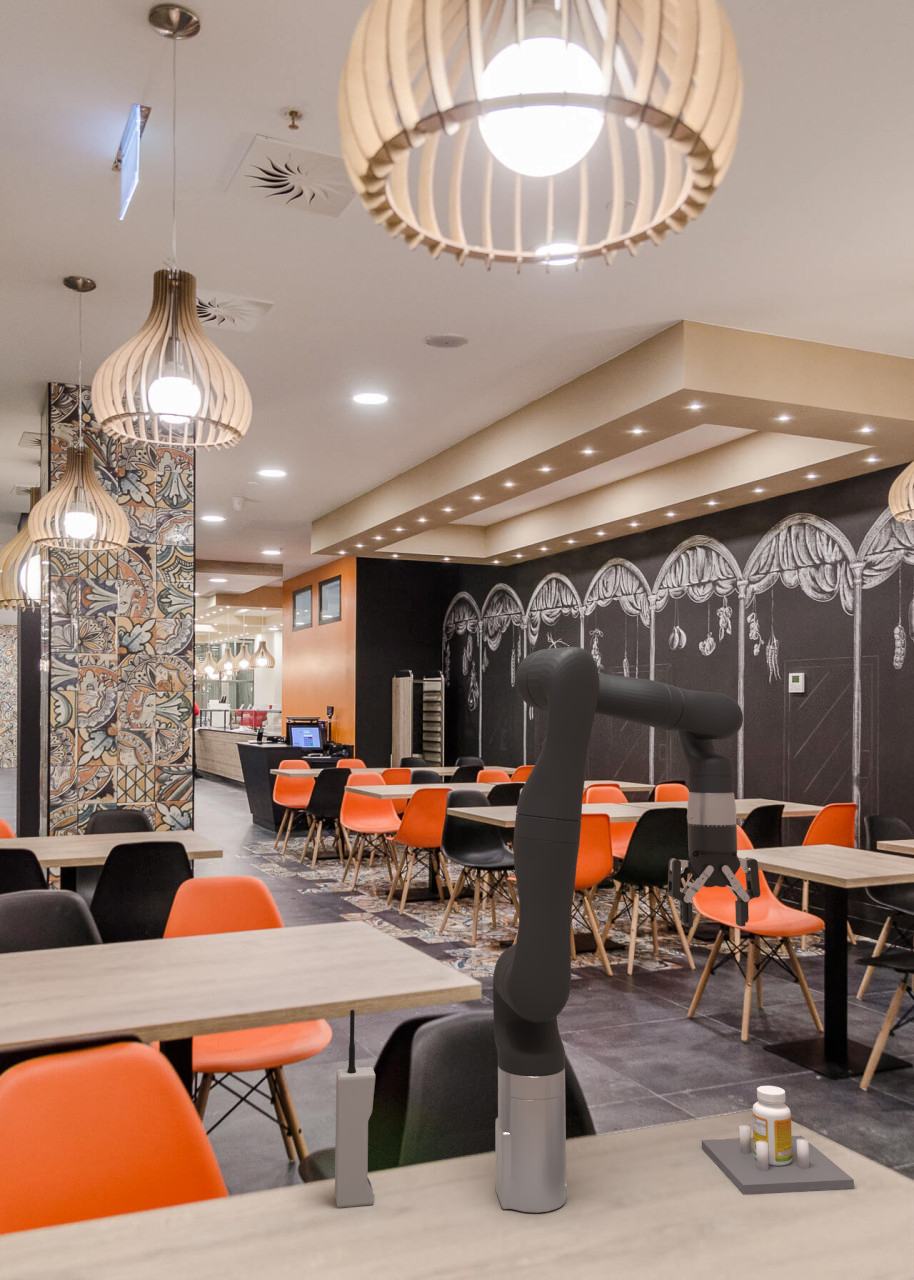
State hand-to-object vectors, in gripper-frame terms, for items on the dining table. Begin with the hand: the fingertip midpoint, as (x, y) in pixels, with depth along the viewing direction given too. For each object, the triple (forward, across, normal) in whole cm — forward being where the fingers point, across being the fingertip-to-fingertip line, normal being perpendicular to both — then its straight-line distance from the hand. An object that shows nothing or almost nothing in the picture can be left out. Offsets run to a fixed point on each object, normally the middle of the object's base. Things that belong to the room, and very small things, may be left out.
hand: (714, 926), depth 156 cm
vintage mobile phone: (+33, -56, -12) cm, 66 cm away
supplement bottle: (+32, +5, -8) cm, 33 cm away
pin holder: (+33, +5, -8) cm, 34 cm away
